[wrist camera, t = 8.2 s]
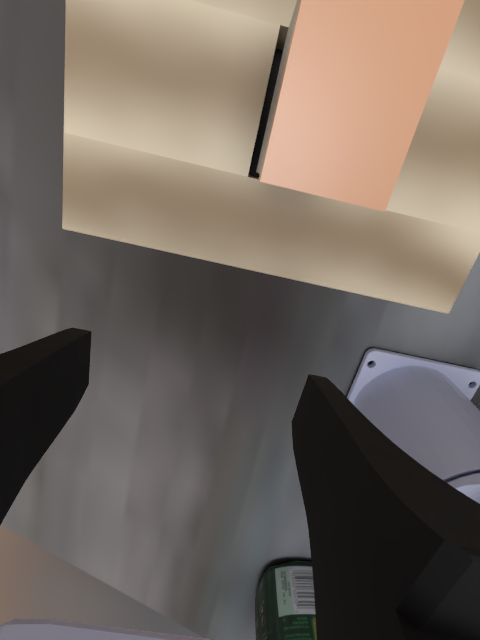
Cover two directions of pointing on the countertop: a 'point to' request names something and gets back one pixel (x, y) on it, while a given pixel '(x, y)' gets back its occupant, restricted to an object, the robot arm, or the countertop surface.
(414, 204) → the beige wooden board
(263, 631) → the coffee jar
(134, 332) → the countertop surface
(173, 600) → the countertop surface
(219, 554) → the countertop surface
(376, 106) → the orange brown rectangular block
